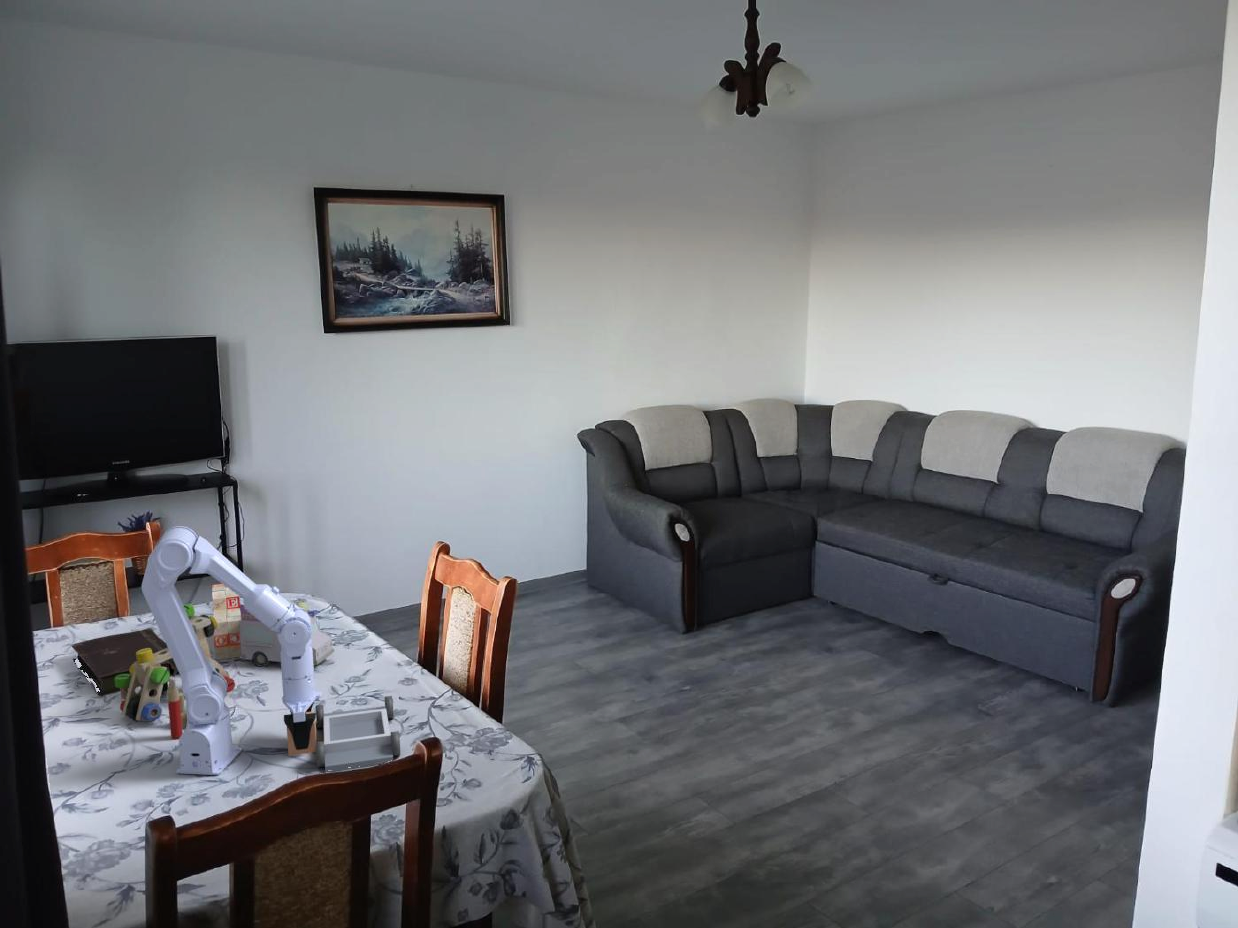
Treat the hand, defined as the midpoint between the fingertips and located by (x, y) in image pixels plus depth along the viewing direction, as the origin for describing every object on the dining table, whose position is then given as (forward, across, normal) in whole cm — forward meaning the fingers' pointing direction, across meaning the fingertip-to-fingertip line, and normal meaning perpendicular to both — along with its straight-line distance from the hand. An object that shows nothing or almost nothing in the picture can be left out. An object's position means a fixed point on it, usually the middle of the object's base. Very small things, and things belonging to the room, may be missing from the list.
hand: (302, 740), depth 179 cm
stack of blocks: (+2, +61, +18) cm, 63 cm away
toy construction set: (+2, +24, +24) cm, 34 cm away
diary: (+2, +51, +39) cm, 64 cm away
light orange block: (+2, 0, 0) cm, 2 cm away
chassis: (+1, 0, -10) cm, 10 cm away
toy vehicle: (+2, +44, +4) cm, 44 cm away
